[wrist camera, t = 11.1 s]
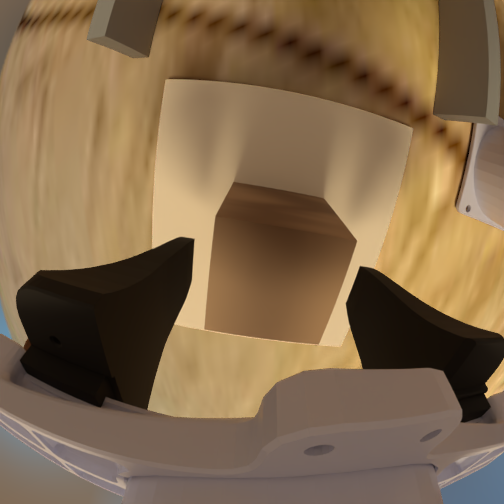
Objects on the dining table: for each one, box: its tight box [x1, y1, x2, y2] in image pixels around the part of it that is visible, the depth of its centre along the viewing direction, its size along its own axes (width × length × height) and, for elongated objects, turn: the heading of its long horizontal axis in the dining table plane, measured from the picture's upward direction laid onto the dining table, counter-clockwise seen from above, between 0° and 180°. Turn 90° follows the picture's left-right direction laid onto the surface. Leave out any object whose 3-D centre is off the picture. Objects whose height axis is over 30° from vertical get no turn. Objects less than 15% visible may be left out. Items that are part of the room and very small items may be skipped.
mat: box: [152, 79, 413, 347], centre depth 16 cm, size 14×16×1 cm
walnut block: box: [204, 182, 357, 345], centre depth 13 cm, size 5×5×6 cm
